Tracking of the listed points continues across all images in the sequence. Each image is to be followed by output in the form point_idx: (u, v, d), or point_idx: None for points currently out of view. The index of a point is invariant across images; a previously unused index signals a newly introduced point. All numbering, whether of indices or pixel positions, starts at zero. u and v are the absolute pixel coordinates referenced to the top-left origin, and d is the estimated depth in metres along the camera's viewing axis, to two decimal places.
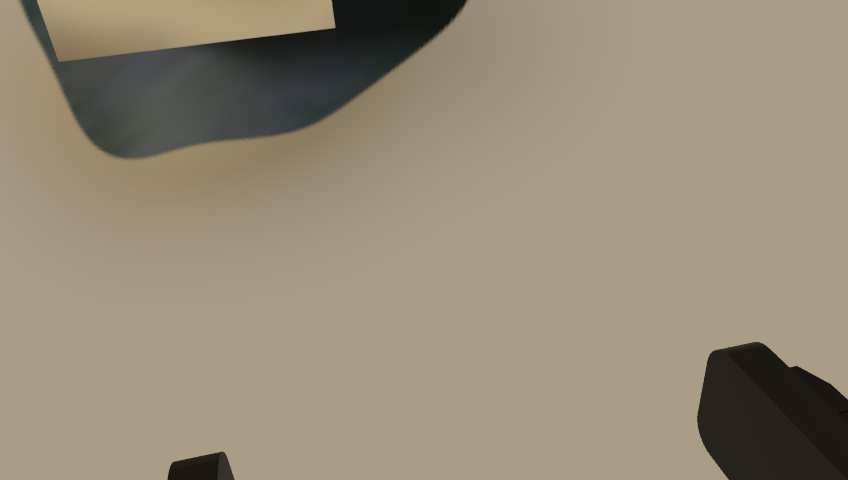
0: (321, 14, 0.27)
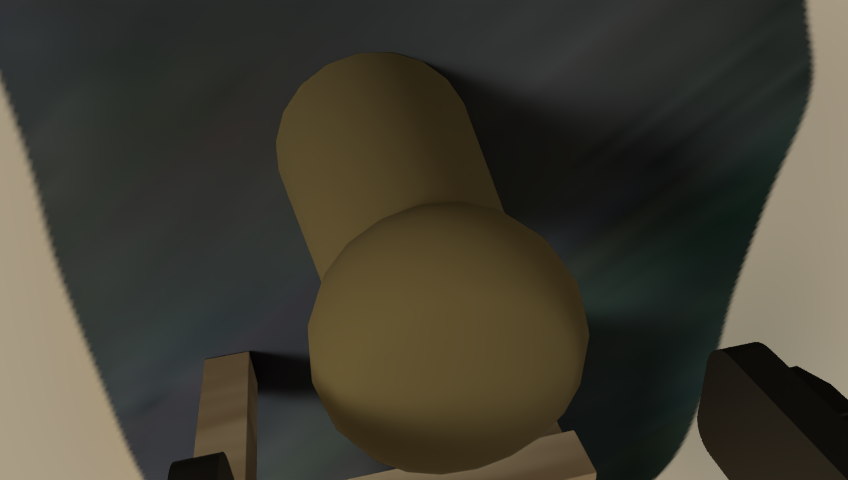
0: None
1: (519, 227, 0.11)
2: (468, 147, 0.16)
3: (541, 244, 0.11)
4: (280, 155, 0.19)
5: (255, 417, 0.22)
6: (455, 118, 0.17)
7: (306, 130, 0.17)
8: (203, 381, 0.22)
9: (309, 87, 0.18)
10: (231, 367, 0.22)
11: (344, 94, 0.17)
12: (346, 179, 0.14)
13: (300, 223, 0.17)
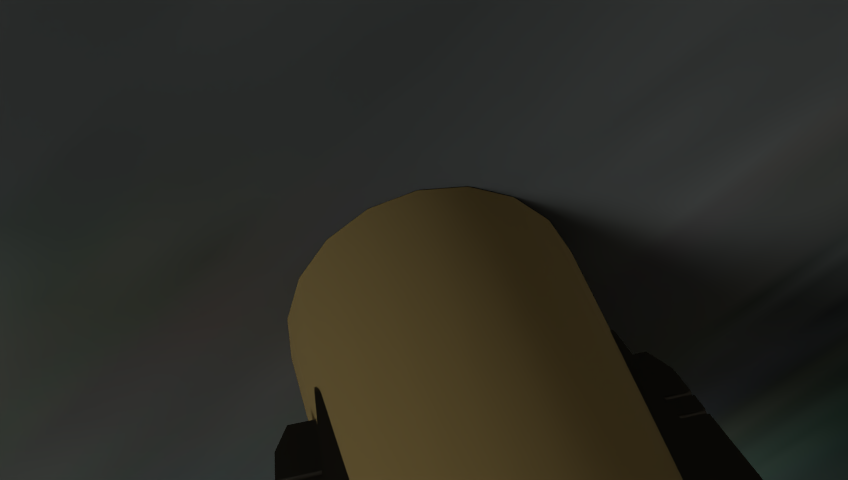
0: None
1: None
2: (629, 393, 0.09)
3: None
4: (295, 350, 0.12)
5: None
6: (589, 318, 0.10)
7: (341, 339, 0.10)
8: None
9: (341, 248, 0.12)
10: None
11: (405, 280, 0.10)
12: None
13: None
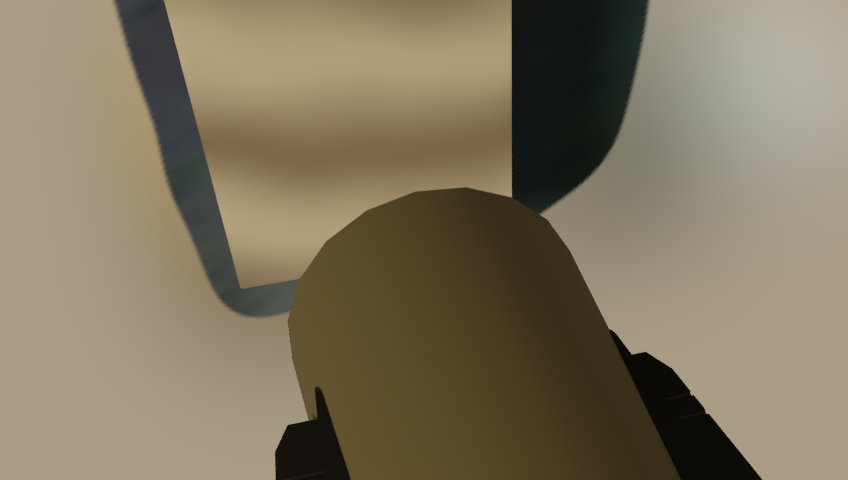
0: None
1: None
2: (627, 392, 0.09)
3: None
4: (295, 351, 0.12)
5: None
6: (587, 318, 0.10)
7: (340, 340, 0.10)
8: None
9: (340, 250, 0.12)
10: None
11: (403, 281, 0.10)
12: None
13: None
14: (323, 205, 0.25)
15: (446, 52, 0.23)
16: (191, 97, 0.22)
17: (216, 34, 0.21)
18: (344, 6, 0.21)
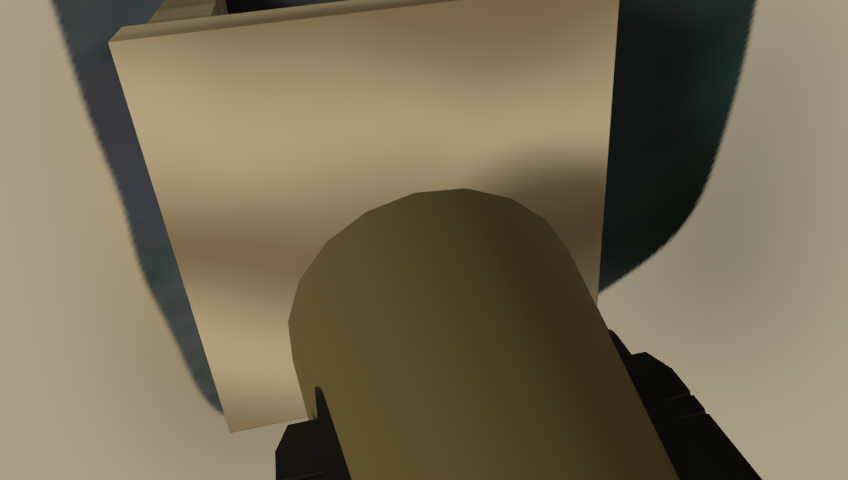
0: None
1: None
2: (626, 393, 0.09)
3: None
4: (295, 352, 0.12)
5: None
6: (586, 319, 0.10)
7: (339, 342, 0.10)
8: None
9: (339, 251, 0.12)
10: None
11: (402, 283, 0.10)
12: None
13: None
14: None
15: (521, 120, 0.16)
16: (156, 189, 0.15)
17: (191, 101, 0.14)
18: (378, 58, 0.14)
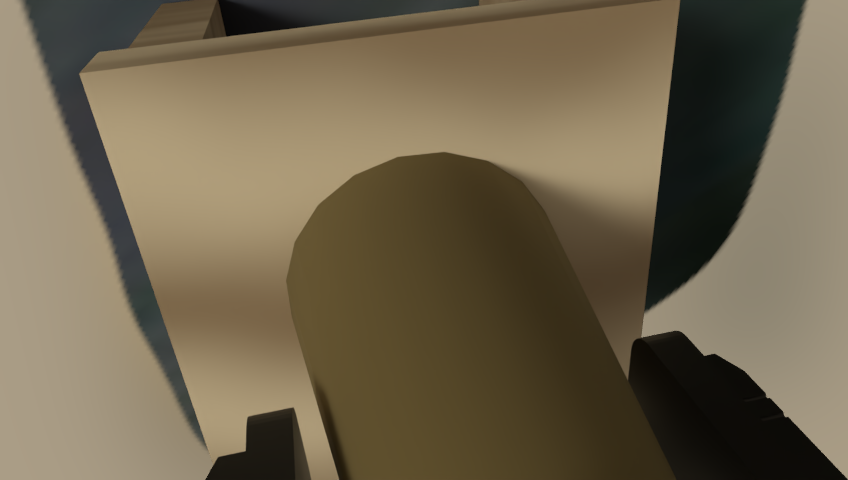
0: None
1: None
2: (583, 321, 0.10)
3: None
4: (293, 306, 0.13)
5: None
6: (552, 261, 0.11)
7: (330, 288, 0.11)
8: (157, 11, 0.17)
9: (330, 211, 0.13)
10: (194, 4, 0.18)
11: (385, 233, 0.11)
12: (401, 411, 0.09)
13: (326, 433, 0.11)
14: None
15: (561, 156, 0.14)
16: (139, 240, 0.13)
17: (179, 140, 0.12)
18: (398, 89, 0.12)
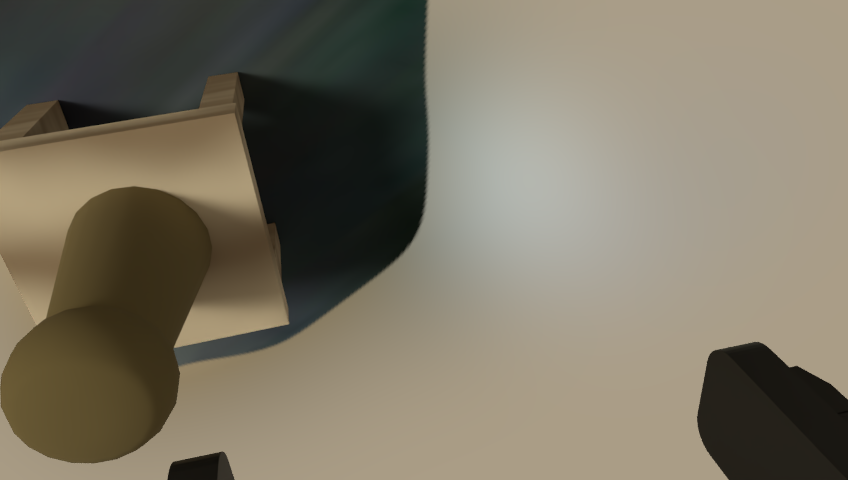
0: (276, 316, 0.33)
1: (112, 321, 0.20)
2: (152, 257, 0.25)
3: (124, 329, 0.20)
4: None
5: None
6: (157, 234, 0.26)
7: (65, 248, 0.26)
8: (20, 111, 0.32)
9: (77, 215, 0.28)
10: (42, 106, 0.33)
11: (87, 224, 0.26)
12: (59, 287, 0.23)
13: None
14: None
15: (196, 186, 0.29)
16: None
17: (2, 185, 0.27)
18: (103, 159, 0.27)
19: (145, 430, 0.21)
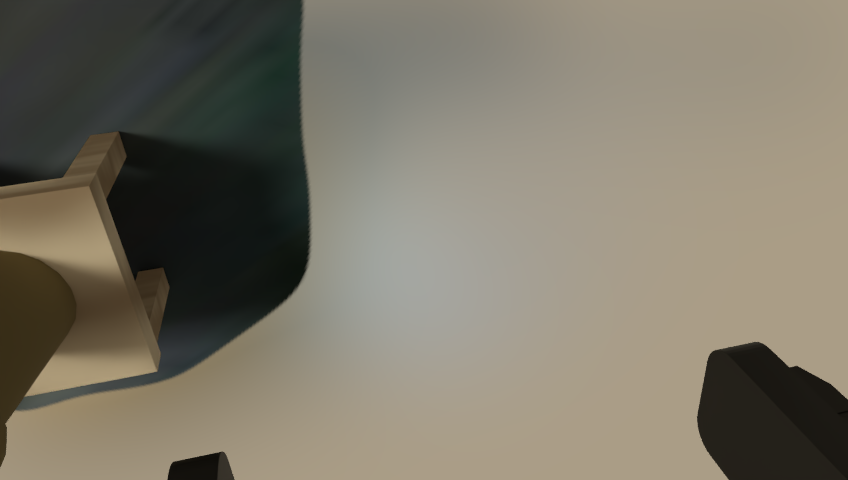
0: (144, 364, 0.35)
1: None
2: None
3: None
4: None
5: None
6: (8, 300, 0.28)
7: None
8: None
9: None
10: None
11: None
12: None
13: None
14: None
15: (57, 250, 0.31)
16: None
17: None
18: None
19: None
